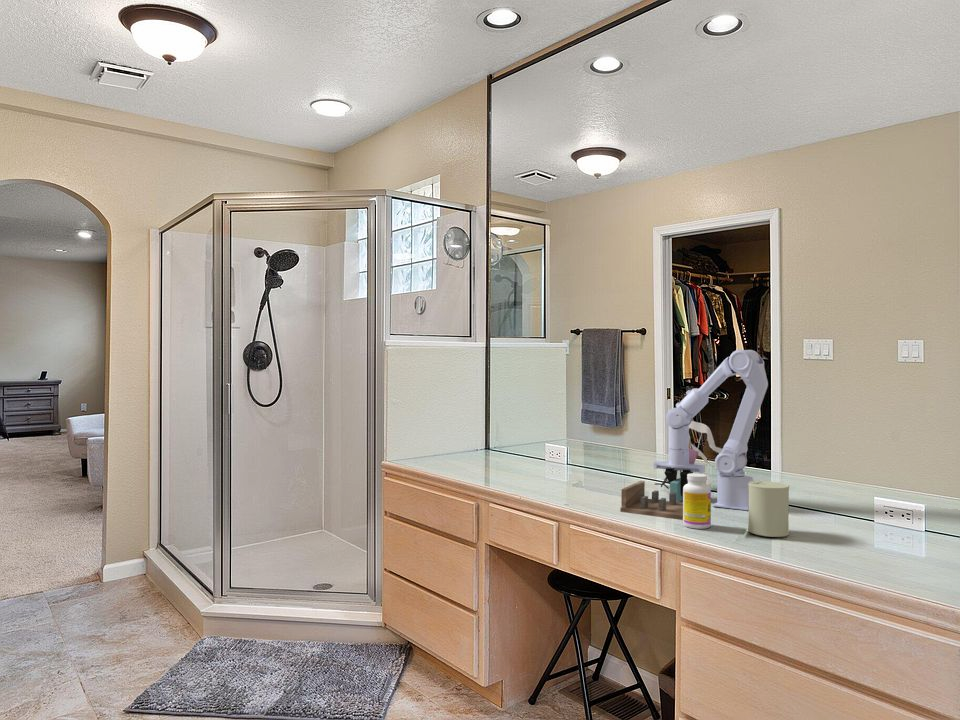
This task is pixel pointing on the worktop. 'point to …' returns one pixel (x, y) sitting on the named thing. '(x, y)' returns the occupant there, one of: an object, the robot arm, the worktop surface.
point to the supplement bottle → (697, 502)
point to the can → (768, 508)
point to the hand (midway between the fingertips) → (678, 495)
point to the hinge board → (649, 502)
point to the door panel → (676, 489)
